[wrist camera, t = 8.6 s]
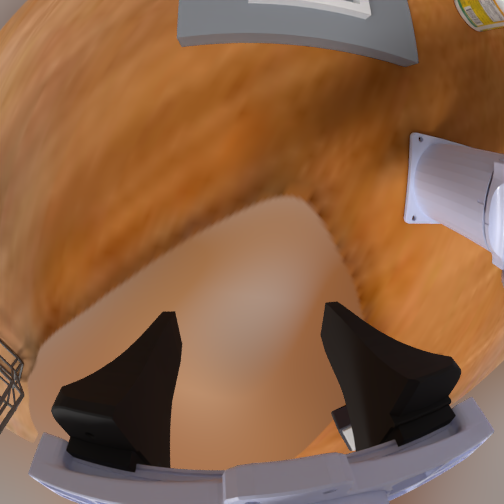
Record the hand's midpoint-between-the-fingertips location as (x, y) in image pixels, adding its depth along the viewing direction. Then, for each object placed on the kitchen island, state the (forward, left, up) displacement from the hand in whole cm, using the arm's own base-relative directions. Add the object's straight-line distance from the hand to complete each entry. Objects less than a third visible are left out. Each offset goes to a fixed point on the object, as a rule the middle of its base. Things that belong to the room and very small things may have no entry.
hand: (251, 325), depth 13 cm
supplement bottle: (-26, -28, -10) cm, 39 cm away
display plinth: (-5, -23, -9) cm, 25 cm away
